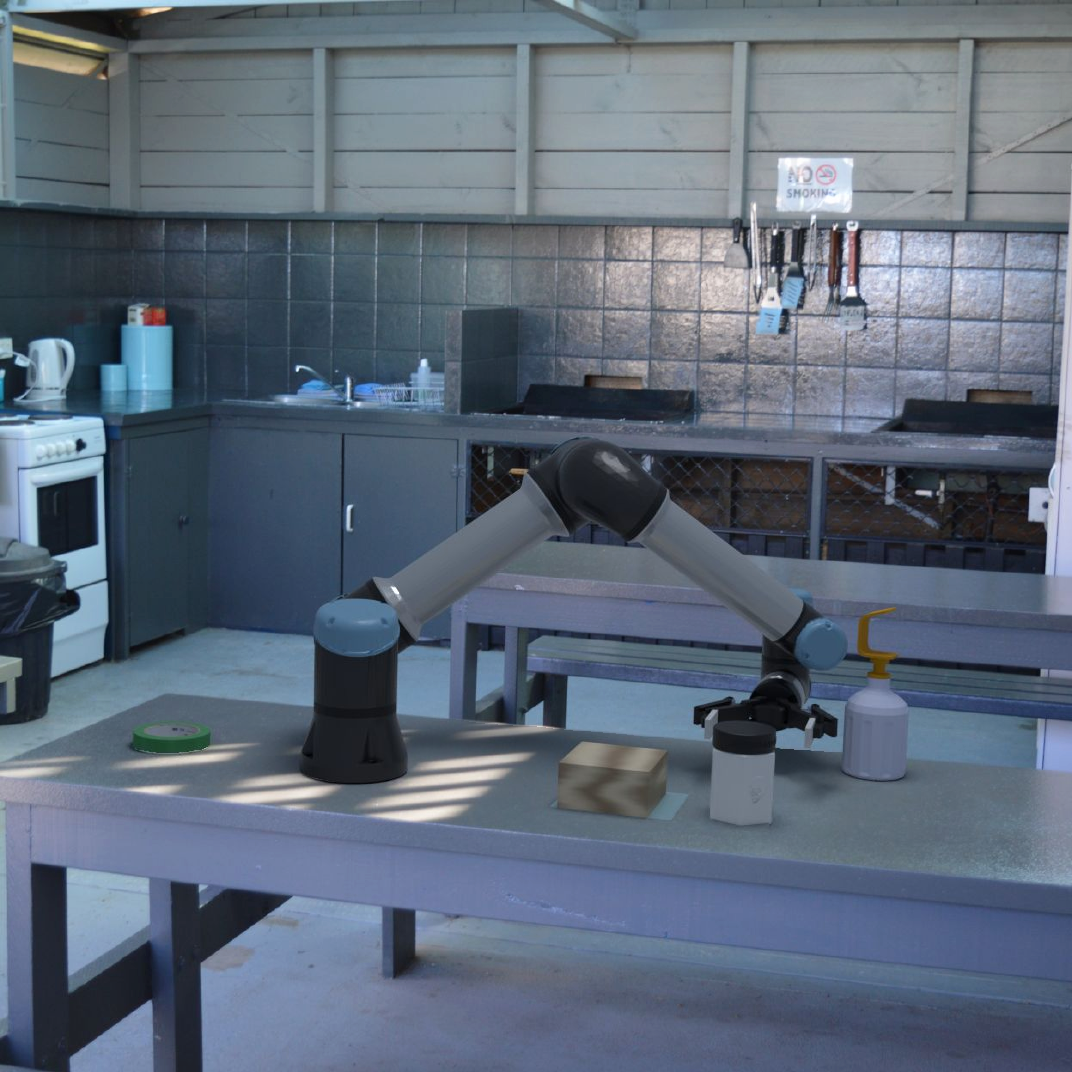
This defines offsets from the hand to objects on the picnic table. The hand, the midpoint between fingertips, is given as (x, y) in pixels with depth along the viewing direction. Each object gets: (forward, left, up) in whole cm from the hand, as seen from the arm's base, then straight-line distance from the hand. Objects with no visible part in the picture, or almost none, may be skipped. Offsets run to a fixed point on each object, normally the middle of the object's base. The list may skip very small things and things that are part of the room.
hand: (756, 733), depth 201 cm
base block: (-17, -11, -8) cm, 22 cm away
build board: (-16, -10, -9) cm, 21 cm away
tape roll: (-85, -7, -9) cm, 86 cm away
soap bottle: (+15, +19, -9) cm, 26 cm away
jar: (0, -11, -9) cm, 14 cm away
